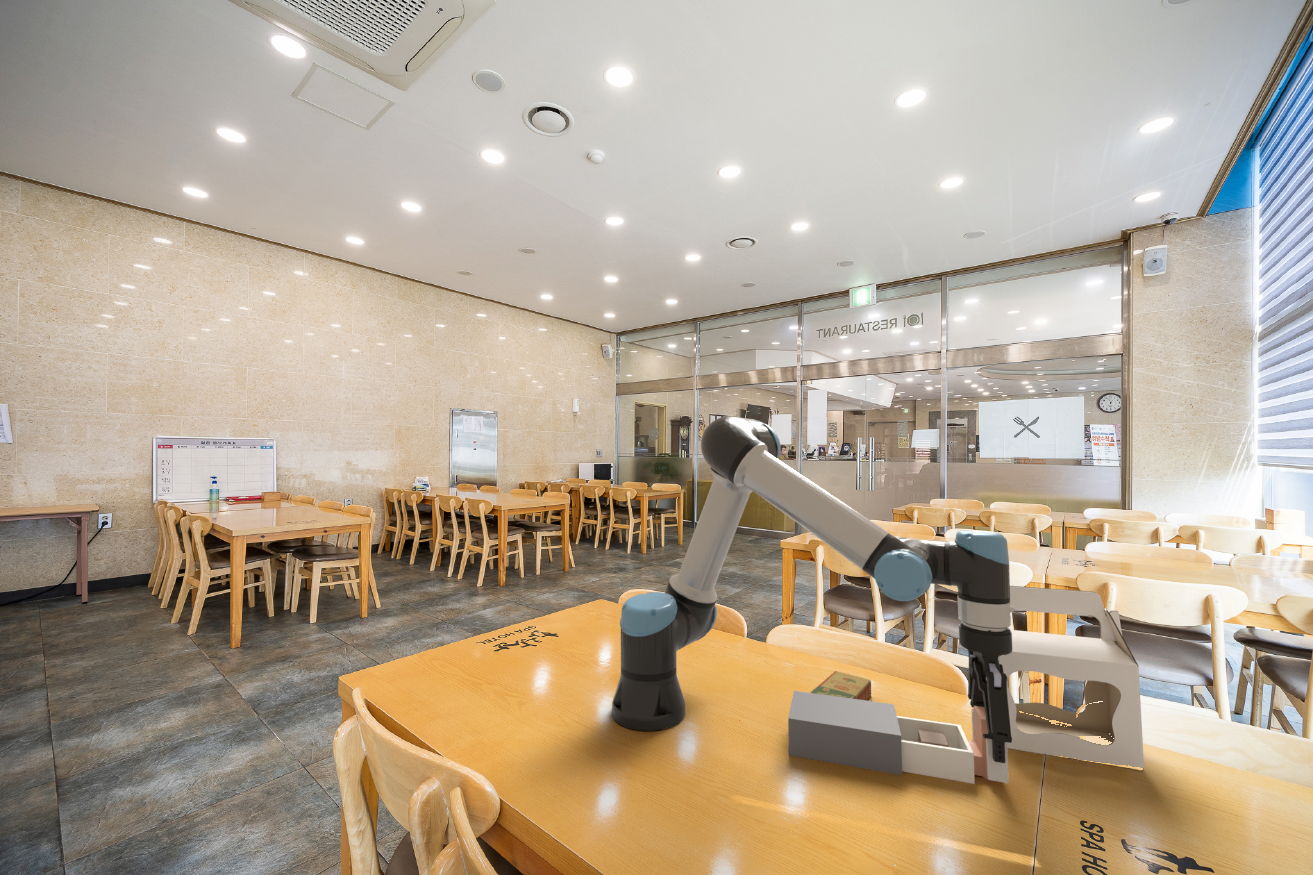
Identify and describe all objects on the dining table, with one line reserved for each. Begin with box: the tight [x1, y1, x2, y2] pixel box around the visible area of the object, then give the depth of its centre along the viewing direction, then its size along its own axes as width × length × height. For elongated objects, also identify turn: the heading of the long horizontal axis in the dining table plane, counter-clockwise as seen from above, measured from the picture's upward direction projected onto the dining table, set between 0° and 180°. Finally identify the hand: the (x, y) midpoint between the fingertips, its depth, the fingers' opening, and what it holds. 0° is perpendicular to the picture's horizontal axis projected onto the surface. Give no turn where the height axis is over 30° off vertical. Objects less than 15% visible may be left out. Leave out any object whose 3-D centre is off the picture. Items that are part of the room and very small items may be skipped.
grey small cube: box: [918, 730, 948, 747], centre depth 89 cm, size 4×4×4 cm
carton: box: [809, 671, 872, 701], centre depth 112 cm, size 8×16×4 cm, turn 141°
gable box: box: [998, 585, 1145, 769], centre depth 98 cm, size 22×13×28 cm, turn 68°
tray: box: [897, 706, 1005, 785], centre depth 89 cm, size 21×10×10 cm, turn 71°
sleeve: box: [787, 690, 903, 776], centre depth 94 cm, size 18×12×7 cm, turn 71°
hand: (989, 763), depth 86 cm, fingers open, 9 cm apart
